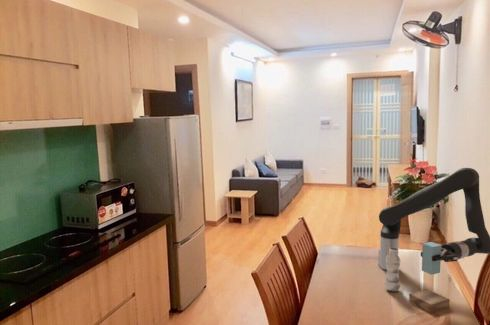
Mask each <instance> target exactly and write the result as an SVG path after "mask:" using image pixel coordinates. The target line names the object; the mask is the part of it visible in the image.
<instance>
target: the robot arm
mask: <svg viewBox="0 0 490 325" xmlns="http://www.w3.org/2000/svg"><path fill="white" fill-rule="evenodd" d="M461 190H463V194H464V202H465V205H464V206H465V207H464V210H465V211H464V212H465V213H464V214H465V220H466V225H467V229H468V232H469V233H473V234H475V235H476V237H469V238H466V239H464V240H460V241H451V242H447V243H443V244H441V254H440V255H434V256H432V261H438V260H440V261H441V262H444V263H450V262H451V263H452V262H458V260H461V259H464V258H466V257H471V256H475V254H482V255H483V254H490V234H489V232H488V230H487V228H486V224H485V223H486V222H485V219H484V213H483V208H482V202H481V196H480V174H479V172H478V170H476V169H474V168H471V167H462V168H459V169H457V170H456V171H454V172H453V173H452V174H450V175H448V176H447V177H445V178H443V179H442V180H439V181H438V182H435V183H432V184H430V185H428V186H426V187H424V188H422V189H420V190H418V191H416V192H414V193H413V194H411V195H409V196H408V197H406V198H405V199H403V200H402V201H401V202H399V203H397V204H395V205H392V206H387V207H385V208H383V209H382V210H380V213H378V214H379V215H378V220H379V222H380V223H381V224H382V228H381V229H380V237H379V238H380V239H379V240H380V241H379V242H380V243H379V247H380V248H378V260H377V261H378V263H377V265H378V267H379V268H380V269H382V270H385V271H387V266H386V257H387V256H388V254H389V248H397V249H398V250H399V246H400V245H399V244H400V243H399V242H400V241H399V240H400V239H399V238H400V232H401V228H402V227H401V223H402V219H404V218H406V217H407V216H409V215H413V214H415V213H418V212H421V211H423V210H426V209H428V208H431V207H433V206H434V205H436V204H438V203H439V202H441V201H443V200H444V199H445V198H447V197H448V196H450V195H451V194H454V193H456V192H458V191H461ZM397 255H398V256H399V253H398V254H397ZM420 257H421V258H422V251H420Z"/></svg>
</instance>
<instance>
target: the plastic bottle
mask: <svg viewBox="0 0 490 325" xmlns="http://www.w3.org/2000/svg"><path fill="white" fill-rule="evenodd" d="M397 254H398V255H397ZM386 266H387V270H386V278H385V281H384V286H385V289H386V290H387V291H389V292H393V293H395V292H399V290H400V287H401V284H400V266H401V258H400V257H399V248H398V249H397V248H389V254H388V256H387V257H386Z"/></svg>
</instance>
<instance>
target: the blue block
mask: <svg viewBox="0 0 490 325" xmlns="http://www.w3.org/2000/svg"><path fill="white" fill-rule="evenodd" d="M441 246H442V244H440V243H435V242H432V241H429V242H423V243H422V249H421V250H422V251H421V252H422V257H421V271H422V272H424V273H427V274H429V275H432V276H433V275H436V274H440V273H441V262H442V261H440V260H438V261H432V256H434V255H440V254H441Z"/></svg>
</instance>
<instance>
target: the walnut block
mask: <svg viewBox="0 0 490 325" xmlns="http://www.w3.org/2000/svg"><path fill="white" fill-rule="evenodd" d="M408 302H409V303H410V304H412V305H415V306H416V307H419V308H421V309H422V310H424V311H426V312H428V313H429V314H433V313H436V312H439V311H443V310H445V309H449V308H450V298H447V297H445V296H443V295H441V294H438V293H436V292H435V291H432V290H430V289H428V288H426V289H422V290H419V291H415V292H411V293H409V298H408Z"/></svg>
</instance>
